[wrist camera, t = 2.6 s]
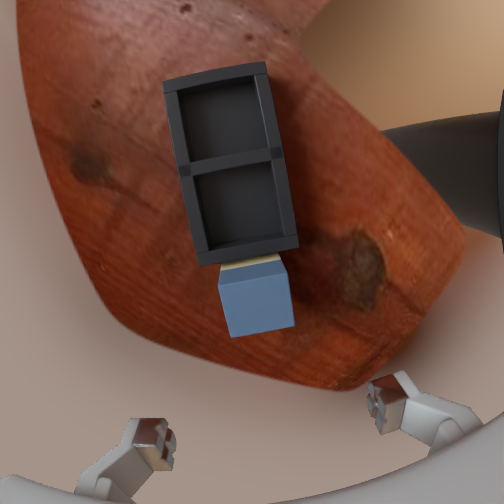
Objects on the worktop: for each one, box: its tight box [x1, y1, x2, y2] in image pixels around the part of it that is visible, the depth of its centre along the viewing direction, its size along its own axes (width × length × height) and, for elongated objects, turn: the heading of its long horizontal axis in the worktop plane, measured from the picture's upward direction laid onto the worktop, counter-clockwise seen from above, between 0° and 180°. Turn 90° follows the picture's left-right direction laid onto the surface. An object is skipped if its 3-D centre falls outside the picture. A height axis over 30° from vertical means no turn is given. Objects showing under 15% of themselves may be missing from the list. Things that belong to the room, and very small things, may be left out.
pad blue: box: [218, 259, 295, 338], centre depth 21 cm, size 4×4×3 cm
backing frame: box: [162, 61, 299, 266], centre depth 21 cm, size 8×14×3 cm, turn 11°
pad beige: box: [220, 252, 281, 271], centre depth 24 cm, size 4×4×3 cm
